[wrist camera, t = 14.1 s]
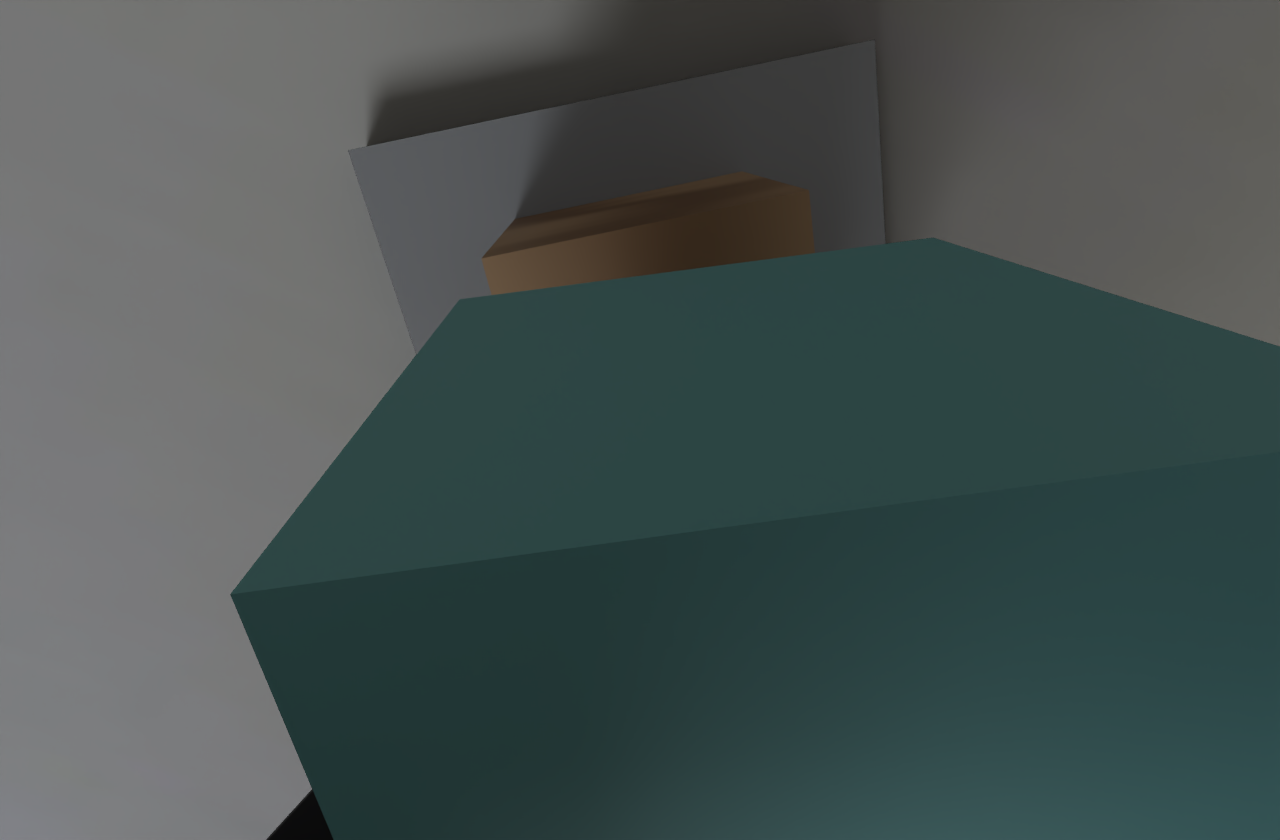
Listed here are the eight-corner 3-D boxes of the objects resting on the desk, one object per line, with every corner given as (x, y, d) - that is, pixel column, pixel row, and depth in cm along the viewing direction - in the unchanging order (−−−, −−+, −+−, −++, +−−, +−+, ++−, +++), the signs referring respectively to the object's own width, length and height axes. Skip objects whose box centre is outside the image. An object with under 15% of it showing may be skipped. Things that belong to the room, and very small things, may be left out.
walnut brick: (586, 497, 18) (584, 625, 13) (514, 219, 15) (481, 258, 10) (778, 458, 18) (844, 573, 13) (742, 171, 15) (808, 190, 10)
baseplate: (498, 558, 20) (492, 583, 19) (365, 148, 15) (347, 150, 14) (881, 481, 20) (898, 502, 18) (854, 46, 15) (874, 39, 14)
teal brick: (565, 779, 10) (543, 1338, 5) (460, 299, 7) (230, 597, 3) (910, 731, 10) (1180, 1242, 5) (933, 238, 7) (1517, 420, 3)
